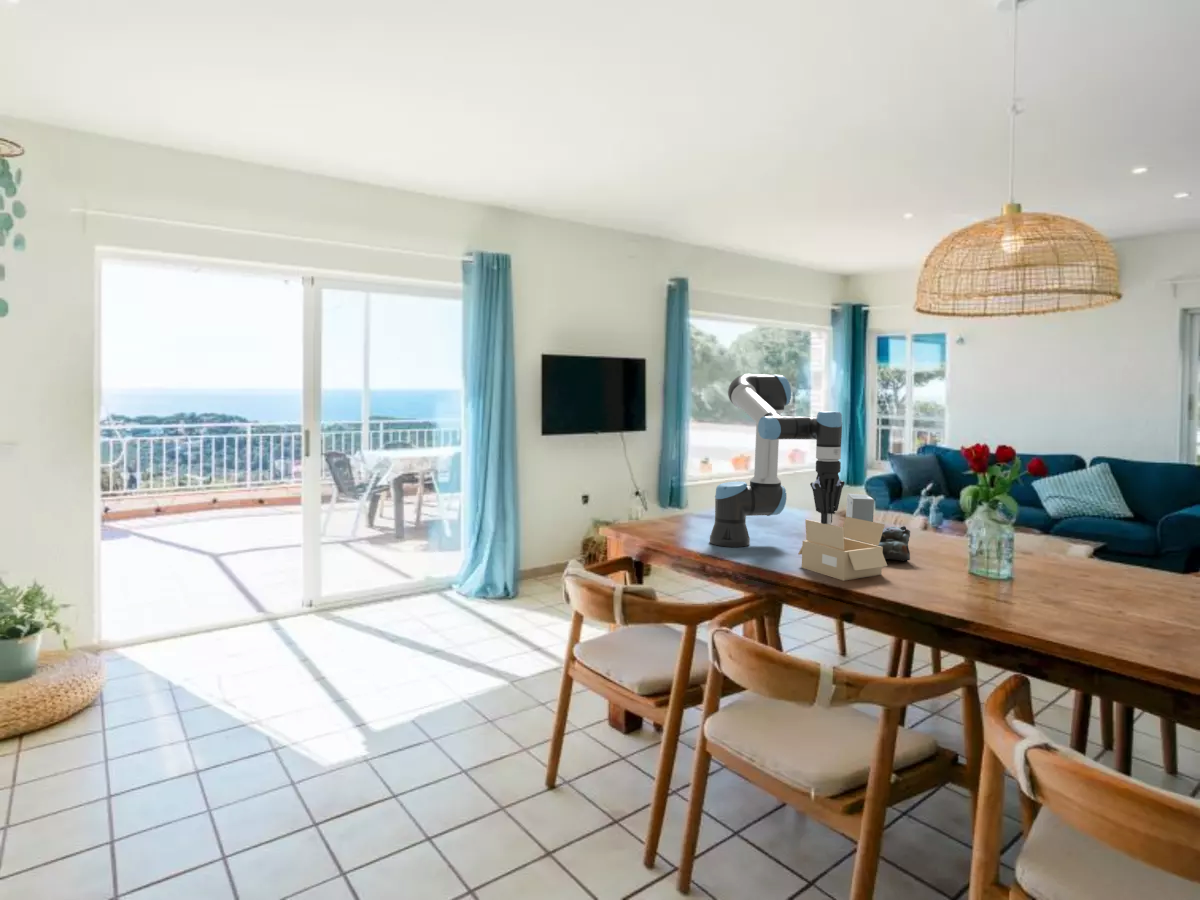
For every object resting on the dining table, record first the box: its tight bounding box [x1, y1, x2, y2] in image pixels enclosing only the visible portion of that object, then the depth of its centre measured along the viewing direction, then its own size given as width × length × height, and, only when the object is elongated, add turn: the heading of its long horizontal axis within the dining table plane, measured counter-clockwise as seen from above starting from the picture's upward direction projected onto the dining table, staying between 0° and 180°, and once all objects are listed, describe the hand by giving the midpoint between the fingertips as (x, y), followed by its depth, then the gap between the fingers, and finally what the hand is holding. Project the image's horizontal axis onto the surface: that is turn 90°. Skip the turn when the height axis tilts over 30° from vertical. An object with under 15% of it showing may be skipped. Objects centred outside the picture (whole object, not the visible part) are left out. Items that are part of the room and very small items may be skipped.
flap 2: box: [842, 516, 886, 545], centre depth 232 cm, size 16×7×1 cm
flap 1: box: [804, 518, 845, 550], centre depth 225 cm, size 16×7×1 cm
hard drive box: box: [845, 493, 875, 544], centre depth 263 cm, size 16×8×20 cm, turn 168°
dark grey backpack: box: [872, 525, 911, 562], centre depth 247 cm, size 15×12×14 cm
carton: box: [798, 537, 888, 582], centre depth 229 cm, size 24×17×9 cm
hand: (826, 533), depth 225 cm, fingers closed
